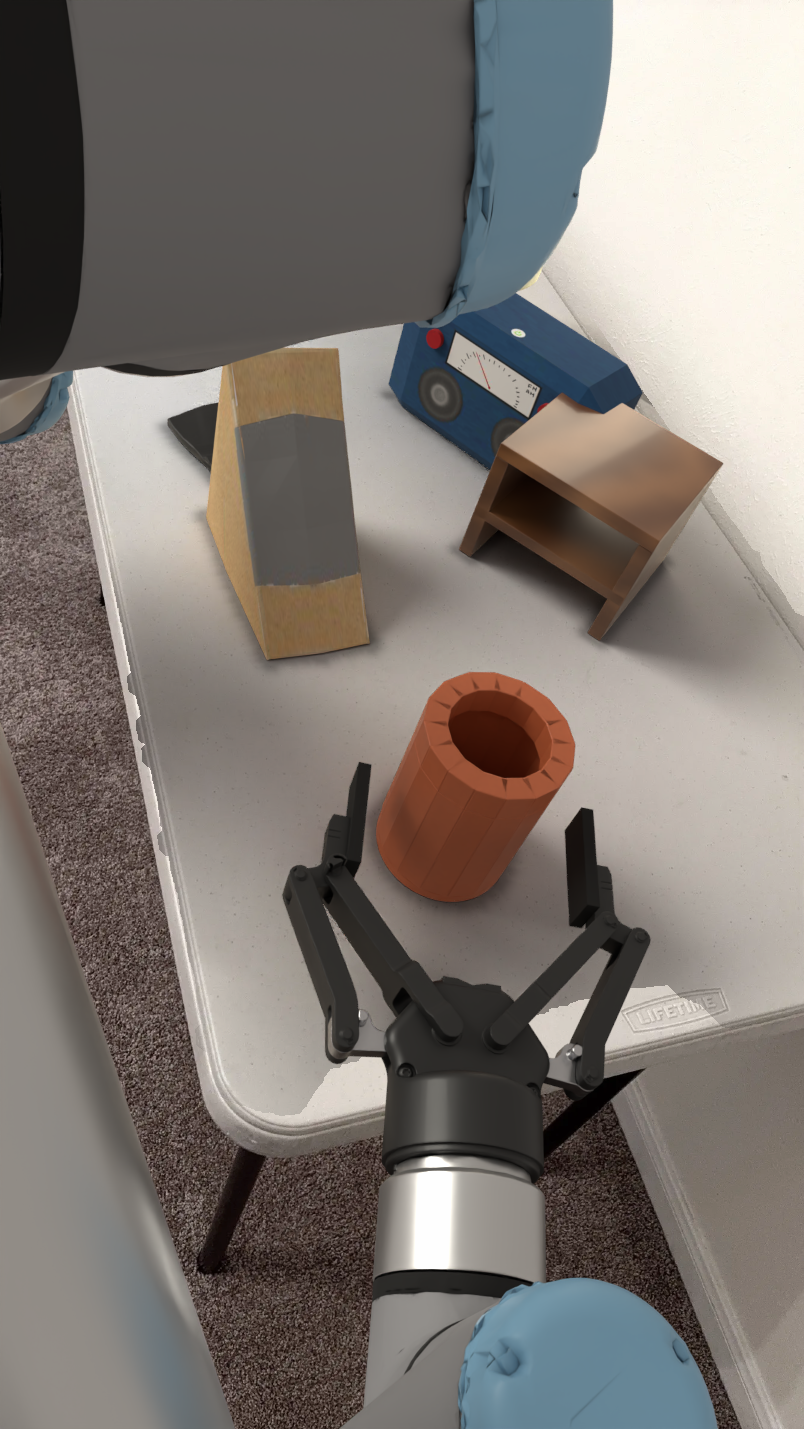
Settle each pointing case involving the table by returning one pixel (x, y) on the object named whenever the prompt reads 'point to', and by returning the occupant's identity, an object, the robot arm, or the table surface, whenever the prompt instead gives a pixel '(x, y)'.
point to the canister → (472, 784)
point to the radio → (502, 374)
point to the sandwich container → (287, 502)
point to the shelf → (566, 538)
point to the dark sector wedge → (197, 431)
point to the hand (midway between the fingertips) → (471, 797)
